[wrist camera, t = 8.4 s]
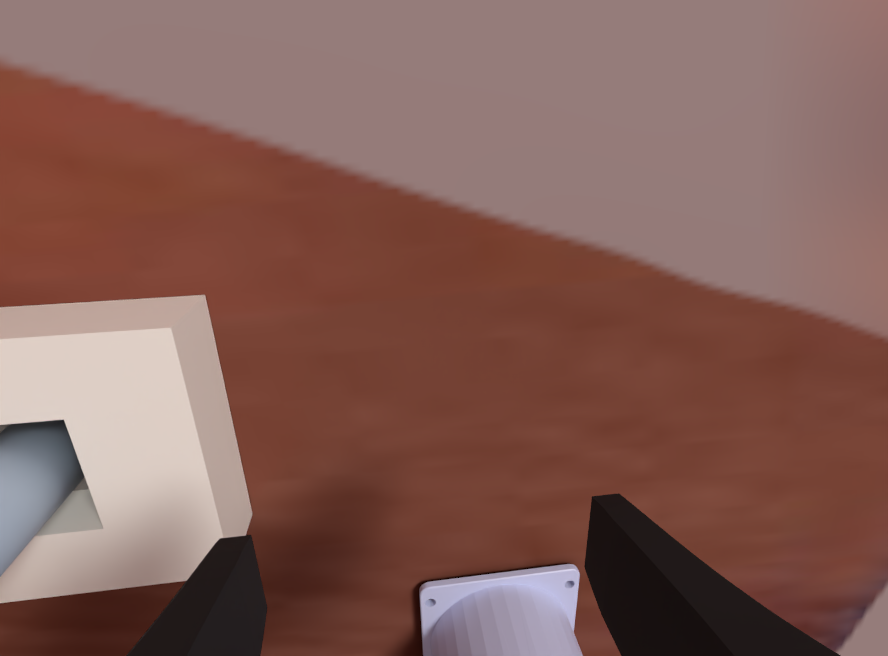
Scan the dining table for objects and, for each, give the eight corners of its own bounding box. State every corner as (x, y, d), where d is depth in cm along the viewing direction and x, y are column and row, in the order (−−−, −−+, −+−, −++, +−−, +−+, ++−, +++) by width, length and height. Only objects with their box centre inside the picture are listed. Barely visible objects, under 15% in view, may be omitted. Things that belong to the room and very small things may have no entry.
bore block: (252, 514, 21) (232, 575, 19) (-52, 546, 20) (-125, 618, 17) (204, 294, 18) (170, 327, 15) (-172, 318, 16) (-291, 359, 14)
